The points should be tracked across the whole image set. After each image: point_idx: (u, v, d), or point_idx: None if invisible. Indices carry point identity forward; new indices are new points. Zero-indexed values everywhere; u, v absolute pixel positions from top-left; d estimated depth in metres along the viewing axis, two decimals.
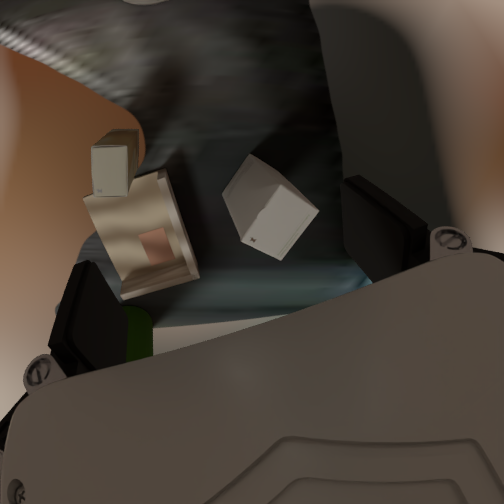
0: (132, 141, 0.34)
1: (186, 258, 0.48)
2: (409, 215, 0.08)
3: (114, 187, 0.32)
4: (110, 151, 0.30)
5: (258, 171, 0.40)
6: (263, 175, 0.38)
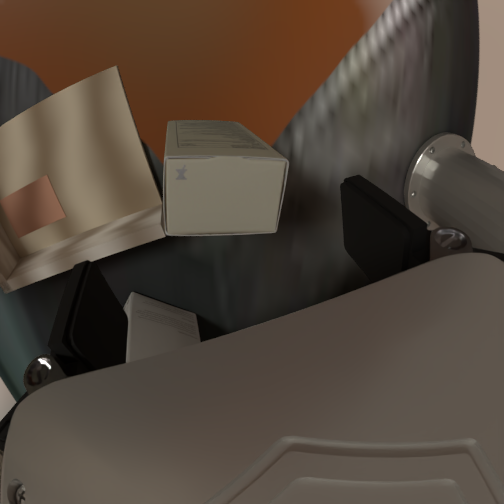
0: None
1: (29, 274, 0.23)
2: (409, 215, 0.08)
3: (187, 209, 0.15)
4: (271, 201, 0.16)
5: None
6: None
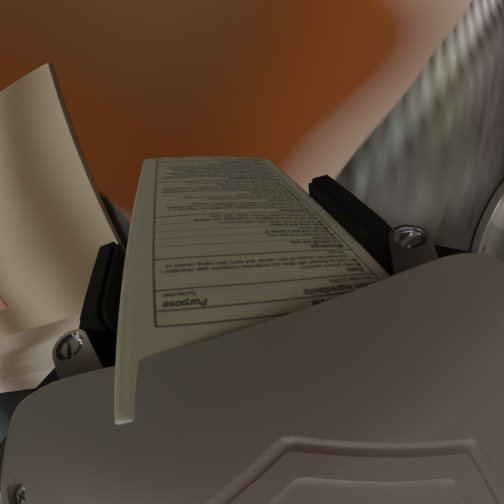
0: None
1: None
2: (368, 213, 0.08)
3: None
4: None
5: None
6: None
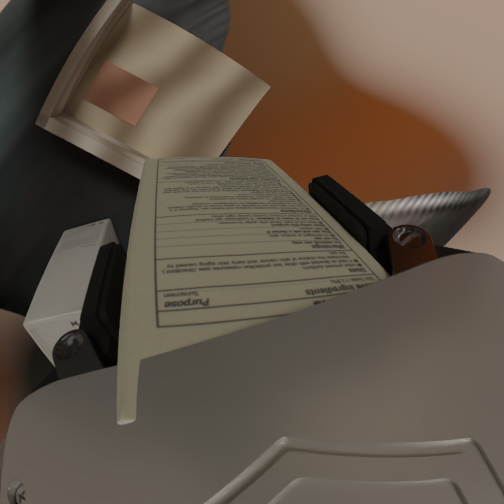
0: None
1: (75, 133, 0.23)
2: (368, 213, 0.08)
3: None
4: None
5: None
6: None
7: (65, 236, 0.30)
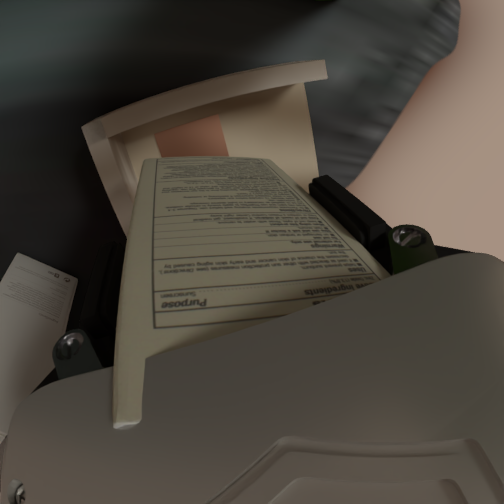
0: None
1: (122, 190, 0.17)
2: (368, 213, 0.08)
3: None
4: None
5: None
6: None
7: (18, 266, 0.19)
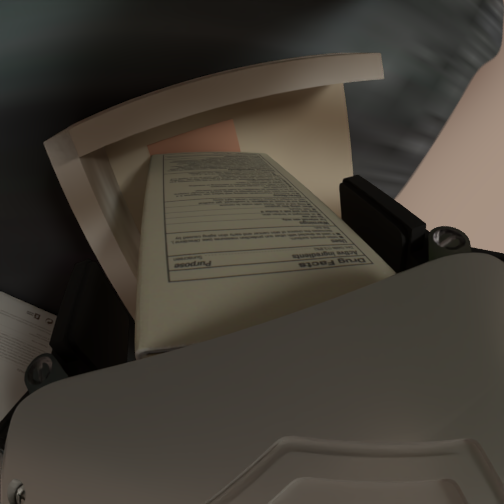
0: None
1: (104, 229, 0.12)
2: (407, 215, 0.08)
3: None
4: None
5: None
6: None
7: None
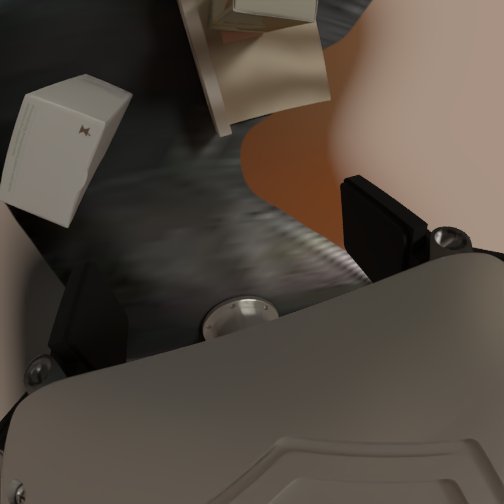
0: (286, 26, 0.21)
1: (193, 5, 0.21)
2: (409, 215, 0.08)
3: None
4: None
5: None
6: (86, 187, 0.23)
7: (87, 77, 0.24)
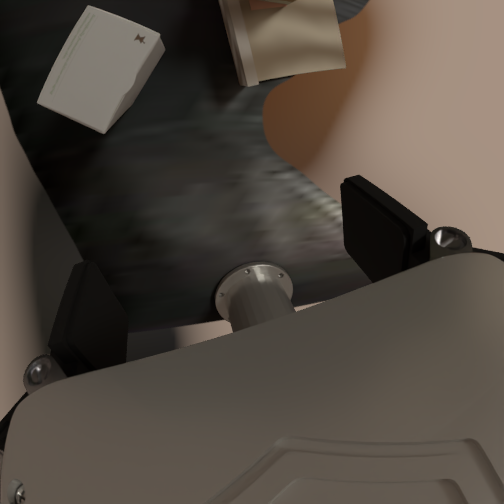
0: None
1: None
2: (409, 215, 0.08)
3: None
4: None
5: (125, 108, 0.25)
6: (121, 113, 0.23)
7: None
